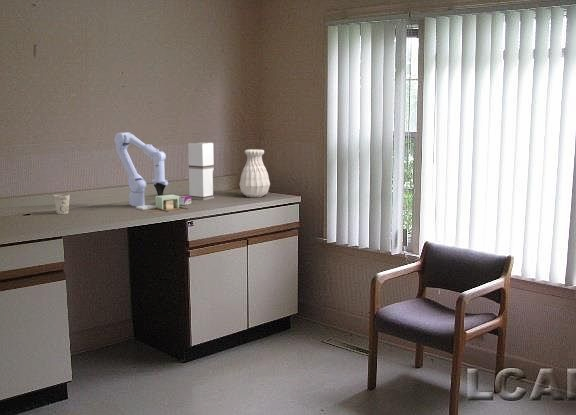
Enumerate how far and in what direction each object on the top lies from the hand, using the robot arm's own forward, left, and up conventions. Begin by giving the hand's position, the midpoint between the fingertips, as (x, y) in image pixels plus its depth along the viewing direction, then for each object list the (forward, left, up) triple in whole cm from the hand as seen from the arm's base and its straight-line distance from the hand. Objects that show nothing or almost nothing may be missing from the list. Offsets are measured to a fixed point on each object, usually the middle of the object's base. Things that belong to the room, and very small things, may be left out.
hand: (160, 196), depth 376 cm
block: (+8, 0, -6) cm, 10 cm away
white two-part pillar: (-17, +40, -7) cm, 44 cm away
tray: (+1, -10, -6) cm, 12 cm away
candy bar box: (+2, +18, -4) cm, 18 cm away
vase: (-2, +71, -7) cm, 71 cm away
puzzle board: (+7, -4, -7) cm, 11 cm away
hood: (+7, 0, -6) cm, 9 cm away
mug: (-22, -49, -7) cm, 54 cm away
